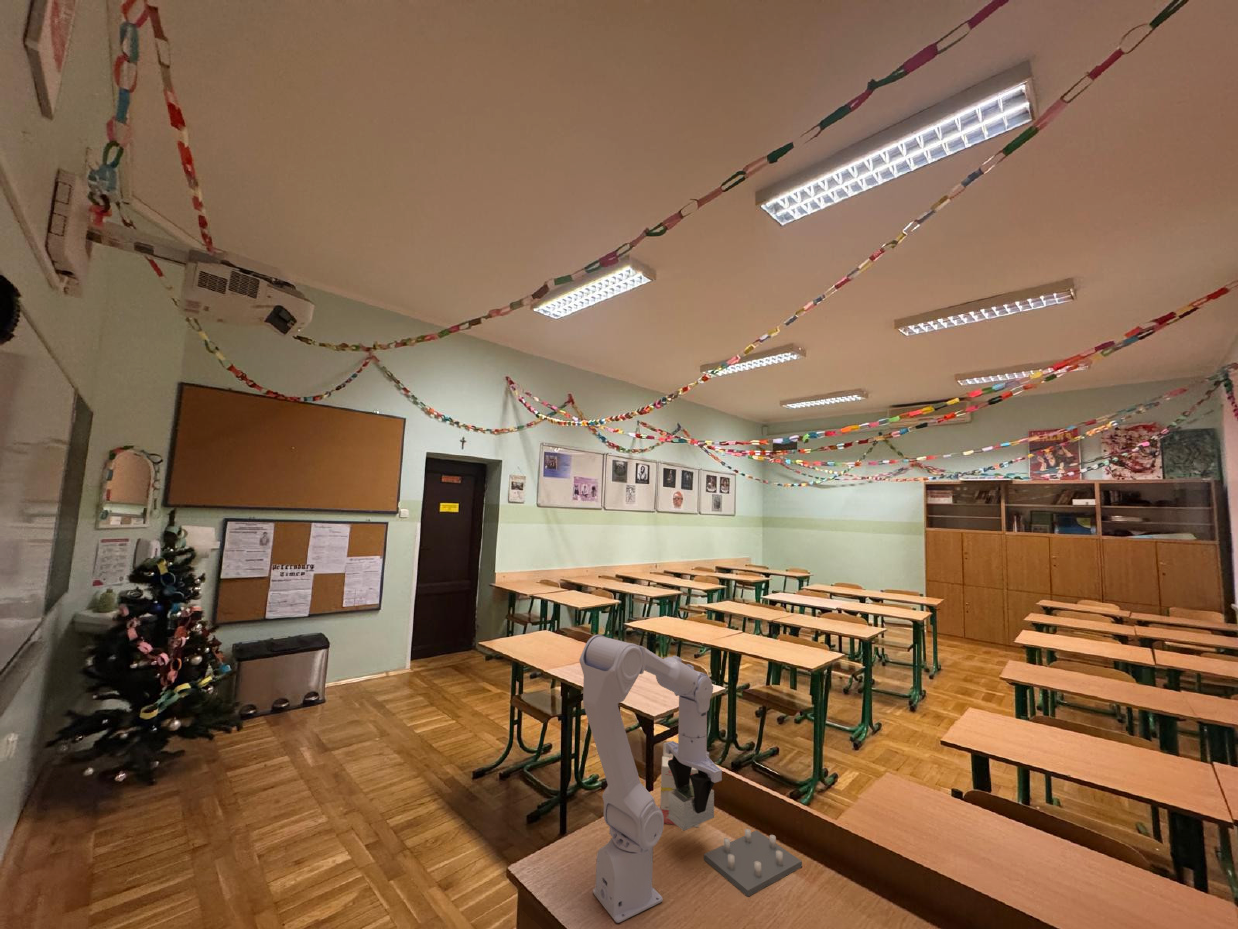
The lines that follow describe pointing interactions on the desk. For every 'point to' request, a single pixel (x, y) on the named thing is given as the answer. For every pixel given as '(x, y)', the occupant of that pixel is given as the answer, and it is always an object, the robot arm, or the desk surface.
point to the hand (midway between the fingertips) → (691, 805)
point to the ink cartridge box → (668, 785)
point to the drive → (688, 807)
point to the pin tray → (752, 861)
